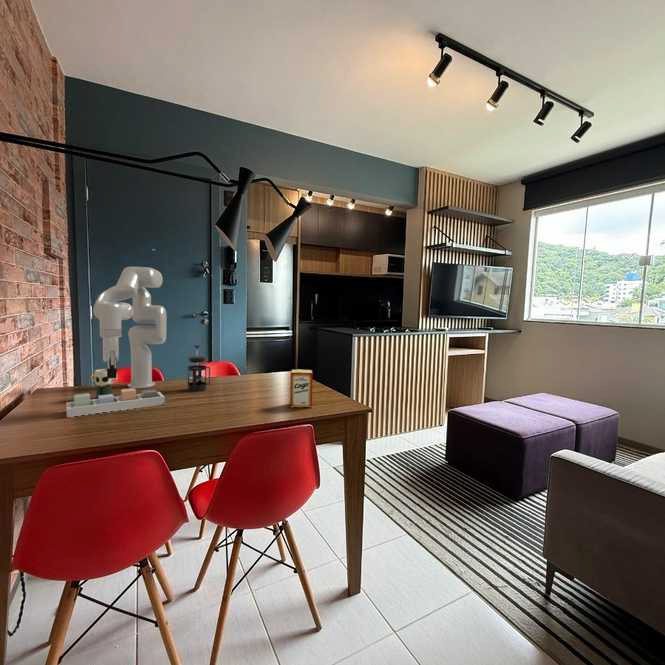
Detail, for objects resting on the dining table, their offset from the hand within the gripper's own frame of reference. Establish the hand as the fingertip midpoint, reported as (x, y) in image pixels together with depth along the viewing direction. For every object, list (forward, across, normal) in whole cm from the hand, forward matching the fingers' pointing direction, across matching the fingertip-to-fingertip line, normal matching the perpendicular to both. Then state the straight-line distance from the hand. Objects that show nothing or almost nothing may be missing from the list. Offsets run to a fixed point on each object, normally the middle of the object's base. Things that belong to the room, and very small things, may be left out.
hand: (111, 377), depth 144 cm
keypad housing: (+13, 0, +2) cm, 13 cm away
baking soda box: (+13, +36, +69) cm, 79 cm away
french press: (+13, -15, +38) cm, 43 cm away
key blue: (+11, 0, -2) cm, 12 cm away
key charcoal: (+11, 0, +14) cm, 18 cm away
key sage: (+10, 0, -10) cm, 14 cm away
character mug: (+13, -19, -2) cm, 23 cm away
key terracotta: (+10, 0, +6) cm, 11 cm away
